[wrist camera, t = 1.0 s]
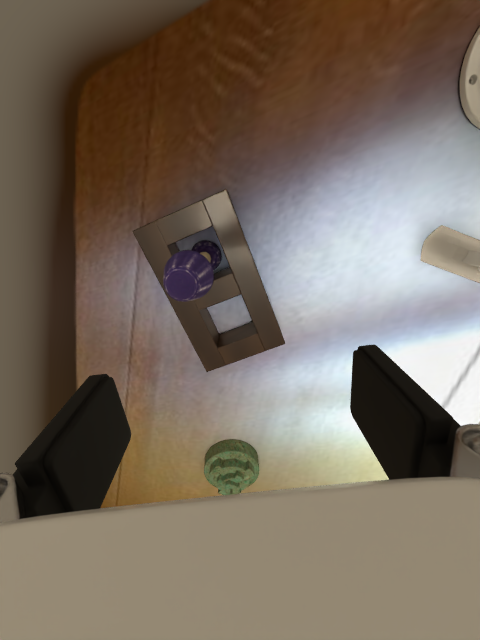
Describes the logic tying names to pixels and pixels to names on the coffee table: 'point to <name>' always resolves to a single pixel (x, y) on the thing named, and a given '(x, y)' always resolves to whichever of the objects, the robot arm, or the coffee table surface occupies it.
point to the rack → (215, 282)
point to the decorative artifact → (231, 466)
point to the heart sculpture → (453, 252)
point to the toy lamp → (191, 271)
